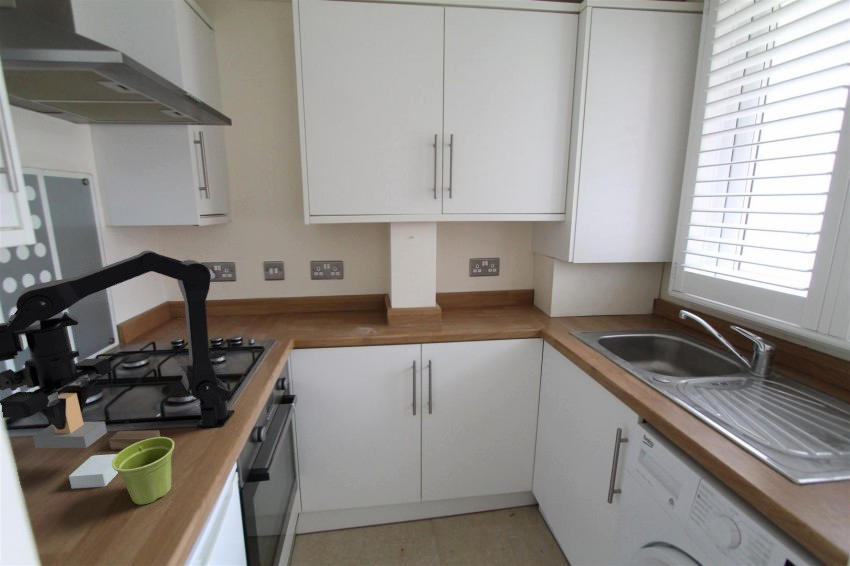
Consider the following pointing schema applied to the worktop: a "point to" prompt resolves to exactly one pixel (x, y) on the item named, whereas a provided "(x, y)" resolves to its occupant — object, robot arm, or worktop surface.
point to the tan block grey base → (70, 429)
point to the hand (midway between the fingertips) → (68, 424)
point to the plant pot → (146, 468)
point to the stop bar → (130, 438)
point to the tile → (94, 472)
